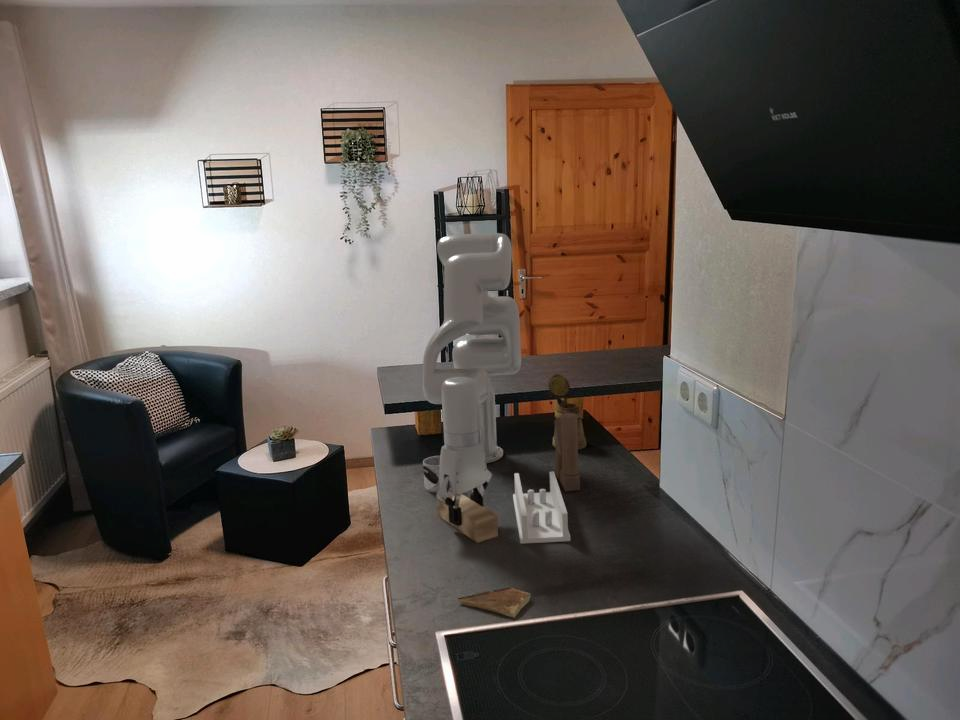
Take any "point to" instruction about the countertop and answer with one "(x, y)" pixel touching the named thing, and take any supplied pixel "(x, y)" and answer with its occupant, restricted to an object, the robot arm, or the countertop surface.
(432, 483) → the mug
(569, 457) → the wooden block
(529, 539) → the peg stand
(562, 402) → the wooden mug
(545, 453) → the countertop surface
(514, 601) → the shard
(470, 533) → the wooden bar
